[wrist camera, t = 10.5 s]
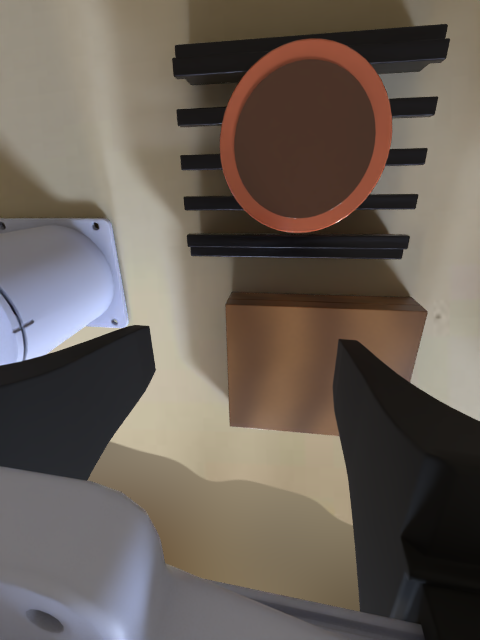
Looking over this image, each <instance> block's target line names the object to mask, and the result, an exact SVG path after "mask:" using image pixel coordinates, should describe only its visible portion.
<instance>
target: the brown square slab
mask: <svg viewBox="0 0 480 640" xmlns="http://www.w3.org/2000/svg"><path fill="white" fill-rule="evenodd" d="M225 307H226V334H227V362H228V390H229V417H230V426H232V427H243V428H255V429H266V430H277V431H289V432H300V433H312V434H323V435H334V436H339V431H338V426H337V422H336V417H335V412H334V402H333V379H334V371H335V363H336V356H337V348H338V340H339V339H348V340H357V341H359V342H360V343H361V344H362V345H364V346H365V347H366V348H367V349H368V350H369V351H370V352H372V353H373V354H374V355H375V356H376V357H377V358H379V359H380V360H381V361H382V362H383V363H385V364H386V365H387V366H388V367H390V368H391V369H392V370H393V371H395V372H396V373H397V374H399V375H400V376H401V377H403V378H404V379H406V380H407V381H408V382H410V380H411V376H412V372H413V368H414V364H415V360H416V356H417V352H418V348H419V344H420V340H421V336H422V332H423V328H424V324H425V320H426V316H427V310H425V309H424V308H423V307H422V306H420V304H419V303H417V302H416V301H415V300H414V299H413V298H412V297H380V296H347V295H314V294H281V293H248V292H232V293H231V295H230V297H229V299H228V301H227V303H226V305H225Z"/></svg>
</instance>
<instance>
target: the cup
mask: <svg viewBox="0 0 480 640" xmlns="http://www.w3.org/2000/svg"><path fill="white" fill-rule="evenodd" d="M391 138H392V114H391V107H390V102H389V99H388V95H387V92H386V89H385V87H384V85H383V83H382V80H381V79H380V77H379V75H378V74H377V72H376V71H375V69H374V68H373V67H372V66H371V64H370V63H369V62H368V61H367V60H366V59H365V58H364V57H363V56H361V55H360V54H359V53H358V52H356V51H355V50H353V49H351V48H350V47H348V46H346V45H344V44H341V43H338V42H336V41H332V40H326V39H302V40H296V41H293V42H290V43H287V44H284V45H282V46H280V47H278V48H276V49H274V50H272V51H270V52H269V53H267V54H266V55H265V56H263V57H262V58H260V59H259V60H258V61H257V62H256V63H255V64H254V65H253V66H252V67H251V68H250V69H249V70H248V71H247V72H246V73H245V75H244V76H243V77H242V79H241V80H240V82H239V83H238V85H237V86H236V88H235V89H234V91H233V93H232V95H231V97H230V99H229V102H228V104H227V107H226V110H225V113H224V117H223V121H222V126H221V133H220V157H221V164H222V169H223V173H224V176H225V179H226V182H227V184H228V186H229V189H230V191H231V193H232V194H233V196H234V197H235V199H236V201H237V202H238V203H239V204H240V206H241V207H242V208H243V209H244V210H245V211H246V212H247V213H248V214H249V215H250V216H251V217H253V218H254V219H255V220H257V221H258V222H260V223H262V224H264V225H266V226H268V227H270V228H273V229H276V230H279V231H284V232H291V233H305V232H312V231H317V230H320V229H323V228H326V227H329V226H331V225H333V224H335V223H337V222H339V221H340V220H342V219H344V218H345V217H347V216H348V215H349V214H351V213H352V212H353V211H354V210H356V209H357V208H358V207H359V206H360V205H361V204H362V203H363V201H364V200H365V199H366V198H367V197H368V195H369V194H370V193H371V192H372V190H373V188H374V187H375V185H376V184H377V182H378V180H379V178H380V176H381V174H382V172H383V170H384V167H385V164H386V161H387V158H388V155H389V150H390V146H391Z"/></svg>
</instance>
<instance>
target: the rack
mask: <svg viewBox="0 0 480 640" xmlns="http://www.w3.org/2000/svg"><path fill="white" fill-rule="evenodd" d="M447 27H448V25H447V24H440V25H427V26H414V27H401V28H388V29H375V30H363V31H350V32H337V33H324V34H311V35H298V36H285V37H272V38H260V39H247V40H234V41H221V42H208V43H195V44H182V45H175V56H176V58H173V59H172V61H173V73H174V77H175V78H176V79H186V80H187V81H188V82H189V83H190V84H191V85H201V84H217V83H234V82H240V80H241V79H242V77H243V76H244V75H245V73H246V72H247V71H248V70H249V69H250V68H251V67H252V66H253V65H254V64H255V63H256V62H257V61H258V60H259V59H260V58H262V57H263V56H265V55H266V54H267V53H269V52H270V51H272V50H274V49H276V48H278V47H280V46H282V45H284V44H287V43H290V42H293V41H296V40H302V39H326V40H332V41H336V42H338V43H341V44H344V45H346V46H348V47H350V48H351V49H353V50H355V51H356V52H358V53H359V54H360V55H361V56H363V57H364V58H365V59H366V60H367V61H368V62H369V63H370V64H371V66H372V67H373V68H374V69H375V71H376V72H377V74H385V73H402V72H419V71H421V70H422V69H423V68H424V67H426V66H427V65H428V64H429V63H441V62H442V61H444V60H445V59H446V56H447V52H448V47H449V42H450V39H449V38H446V39H445V37H446V32H447ZM437 101H438V97H437V96H436V97H416V98H396V99H389V102H390V107H391V114H392V118H416V117H431V116H433V115H434V114H435V111H436V106H437ZM225 110H226V107H213V108H193V109H177V122H178V126H180V127H198V126H222V121H223V117H224V113H225ZM426 155H427V148H413V149H390V150H389V155H388V158H387V161H386V164H385V166H409V165H424V164H425V159H426ZM180 158H181V169H182V170H185V171H186V170H223V169H222V164H221V157H220V154H207V155H181V156H180ZM417 199H418V194H369V195H368V197H367V198H366V199H365V200H364V201H363V203H362V204H361V205H360V206H359V207H358V208H357V209H356V210H363V209H415V208H416V204H417ZM184 207H185V210H244V209H243V208H242V207H241V206H240V204H239V203H238V202H237V201H236V199H235V197H234V196H187V197H184ZM409 238H410V236H408V235H391V234H218V233H201V234H188V235H187V243H188V247H191V256H216V257H283V258H349V259H401V258H402V254H403V249H407V248H408V243H409Z"/></svg>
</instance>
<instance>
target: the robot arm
mask: <svg viewBox="0 0 480 640" xmlns="http://www.w3.org/2000/svg"><path fill="white" fill-rule="evenodd" d="M3 223H4V224H5V226H6V228H5V227H4V226H3ZM95 223H97V224H98V225H99V229H97V228H96V227H95ZM114 319H116V320H117V323H116V322H114ZM128 323H129V319H128V314H127V308H126V302H125V296H124V291H123V285H122V279H121V274H120V268H119V262H118V257H117V251H116V245H115V240H114V234H113V228H112V224H111V222H110V221H109V220H108V219H106V218H0V640H480V421H478V420H475V419H473V418H471V417H469V416H467V415H465V414H463V413H461V412H459V411H457V410H455V409H453V408H451V407H449V406H448V405H446V404H444V403H442V402H440V401H438V400H437V399H435V398H433V397H432V396H430V395H429V394H427V393H425V392H424V391H422V390H420V389H419V388H417V387H416V386H414V385H413V384H411V383H410V382H408V381H407V380H406V379H404V378H403V377H401V376H400V375H399V374H397V373H396V372H395V371H393V370H392V369H391V368H390V367H388V366H387V365H386V364H385V363H383V362H382V361H381V360H380V359H379V358H377V357H376V356H375V355H374V354H373V353H372V352H370V351H369V350H368V349H367V348H366V347H365V346H364V345H362V344H361V343H360V342H359V341H357V340H348V339H339V340H338V348H337V356H336V363H335V371H334V379H333V402H334V412H335V417H336V422H337V426H338V431H339V436H340V440H341V445H342V450H343V454H344V459H345V463H346V468H347V474H348V481H349V490H350V499H351V508H352V519H353V529H354V540H355V551H356V563H357V576H358V587H359V602H360V612H359V611H354V610H349V609H345V608H340V607H335V606H331V605H325V604H321V603H316V602H312V601H306V600H302V599H297V598H292V597H288V596H283V595H278V594H274V593H269V592H264V591H259V590H255V589H250V588H245V587H240V586H236V585H231V584H226V583H222V582H217V581H212V580H207V579H202V578H200V577H197V576H195V575H193V574H190V573H188V572H185V571H183V570H181V569H178V568H176V567H173V566H171V565H168V564H165V561H164V555H163V550H162V545H161V540H160V537H159V535H158V533H157V530H156V529H155V527H154V525H153V523H152V521H151V520H150V518H149V516H148V514H147V512H146V511H145V510H144V509H143V508H142V507H140V506H139V505H138V504H136V503H135V502H134V501H132V500H131V499H130V498H129V497H127V496H126V495H125V494H123V493H122V492H120V491H117V490H115V489H112V488H109V487H106V486H103V485H100V484H98V483H95V482H91V481H87V480H88V478H89V476H90V474H91V472H92V470H93V469H94V467H95V465H96V463H97V461H98V460H99V458H100V456H101V454H102V453H103V451H104V449H105V448H106V446H107V444H108V443H109V441H110V440H111V438H112V437H113V435H114V434H115V432H116V431H117V430H118V428H119V427H120V426H121V424H122V423H123V421H124V420H125V419H126V417H127V416H128V415H129V413H130V412H131V410H132V409H133V408H134V406H135V405H136V403H137V402H138V401H139V399H140V398H141V396H142V395H143V394H144V392H145V391H146V389H147V387H148V385H149V383H150V381H151V379H152V377H153V375H154V373H155V371H156V369H155V362H154V355H153V349H152V342H151V335H150V328H149V326H140V325H133V326H129V327H126V326H127V325H128ZM85 326H92V327H113V328H122V329H119V330H116V331H113V332H110V333H108V334H105V335H102V336H100V337H97V338H94V339H92V340H89V341H86V342H83V343H80V344H77V345H74V346H72V347H69V348H66V349H63V350H60V351H57V352H54V353H50V354H47V353H48V352H50V351H51V350H52V349H54V348H55V347H57V346H58V345H60V344H61V343H62V342H64V341H65V340H67V339H68V338H69V337H71V336H72V335H74V334H75V333H76V332H78V331H79V330H81V329H82V328H83V327H85ZM124 327H125V328H124ZM45 354H47V355H45Z"/></svg>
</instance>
